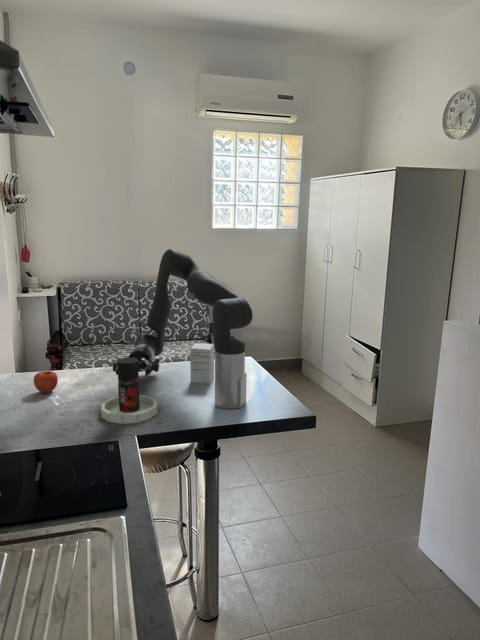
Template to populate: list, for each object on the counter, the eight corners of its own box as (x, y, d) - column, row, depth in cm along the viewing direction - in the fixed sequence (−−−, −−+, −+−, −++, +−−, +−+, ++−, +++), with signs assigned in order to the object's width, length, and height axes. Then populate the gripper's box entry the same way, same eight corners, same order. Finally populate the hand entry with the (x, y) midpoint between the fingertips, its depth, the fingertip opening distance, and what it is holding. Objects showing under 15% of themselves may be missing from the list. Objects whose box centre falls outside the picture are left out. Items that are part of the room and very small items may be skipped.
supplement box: (194, 376, 177) (194, 342, 175) (214, 377, 176) (214, 343, 174) (189, 382, 170) (189, 348, 168) (210, 384, 169) (210, 349, 167)
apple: (35, 389, 162) (34, 366, 160) (59, 387, 164) (57, 364, 162) (33, 397, 155) (31, 373, 153) (57, 395, 157) (56, 371, 155)
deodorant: (142, 405, 147) (140, 358, 144) (136, 413, 141) (134, 363, 138) (123, 404, 147) (121, 357, 144) (116, 412, 142) (114, 363, 139)
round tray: (166, 405, 150) (165, 398, 149) (141, 426, 135) (140, 418, 134) (120, 399, 154) (119, 392, 154) (90, 419, 139) (90, 411, 139)
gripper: (120, 346, 163) (108, 360, 147) (162, 346, 163) (155, 360, 147) (120, 367, 164) (109, 384, 148) (163, 368, 165) (156, 384, 149)
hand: (132, 372), depth 148 cm, fingers open, 8 cm apart
